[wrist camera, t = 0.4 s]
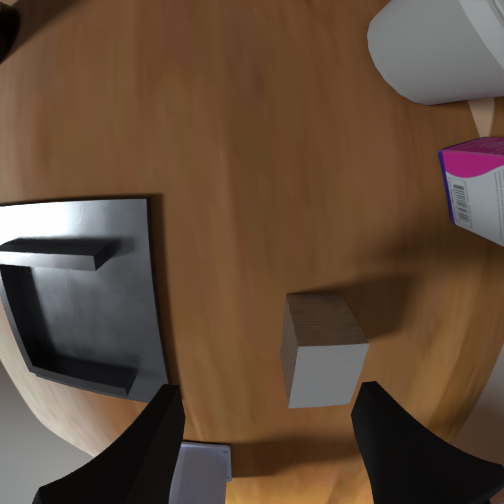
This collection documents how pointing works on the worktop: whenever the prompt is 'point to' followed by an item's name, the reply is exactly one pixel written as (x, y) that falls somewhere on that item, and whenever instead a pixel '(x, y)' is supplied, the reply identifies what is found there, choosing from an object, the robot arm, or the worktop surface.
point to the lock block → (320, 350)
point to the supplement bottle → (7, 27)
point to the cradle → (85, 294)
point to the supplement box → (476, 186)
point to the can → (440, 49)
